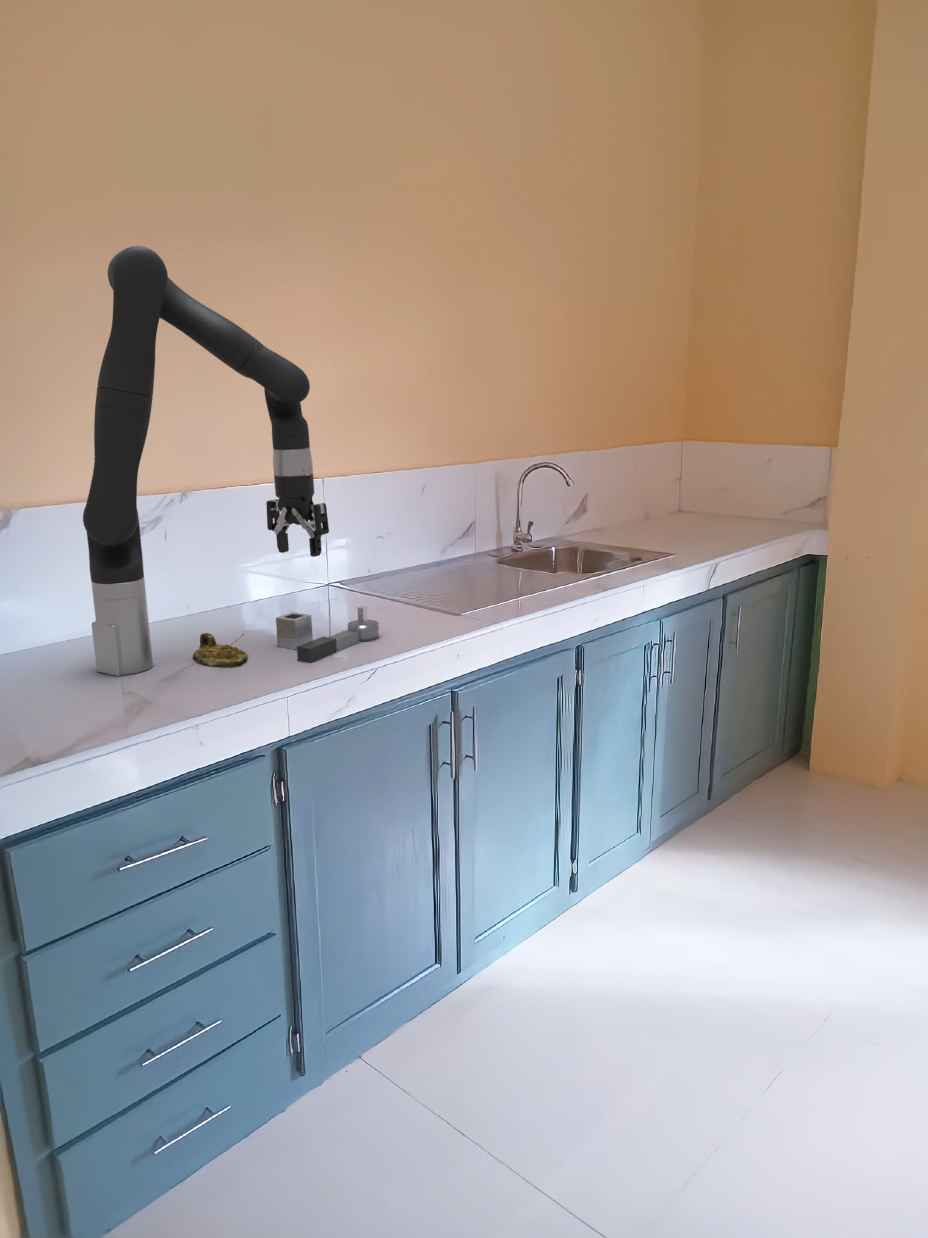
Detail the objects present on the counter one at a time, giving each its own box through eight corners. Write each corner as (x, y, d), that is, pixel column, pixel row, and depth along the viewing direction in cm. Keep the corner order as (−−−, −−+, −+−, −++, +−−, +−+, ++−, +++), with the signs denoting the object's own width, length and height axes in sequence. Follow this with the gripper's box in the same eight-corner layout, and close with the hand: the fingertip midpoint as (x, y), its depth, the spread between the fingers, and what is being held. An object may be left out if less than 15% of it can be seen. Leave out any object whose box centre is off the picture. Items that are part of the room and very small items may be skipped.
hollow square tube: (296, 649, 188) (295, 620, 186) (277, 646, 190) (275, 617, 189) (312, 643, 192) (311, 615, 190) (294, 640, 194) (292, 612, 193)
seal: (261, 667, 181) (220, 651, 192) (262, 644, 180) (221, 629, 191) (218, 673, 175) (178, 656, 185) (219, 648, 174) (179, 633, 184)
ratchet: (360, 631, 200) (359, 602, 198) (385, 635, 197) (384, 605, 195) (291, 659, 182) (289, 626, 180) (317, 664, 178) (315, 631, 177)
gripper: (253, 472, 184) (260, 554, 188) (307, 475, 176) (313, 560, 180) (280, 468, 189) (286, 547, 194) (334, 471, 182) (339, 553, 186)
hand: (299, 554), depth 187 cm, fingers open, 8 cm apart
